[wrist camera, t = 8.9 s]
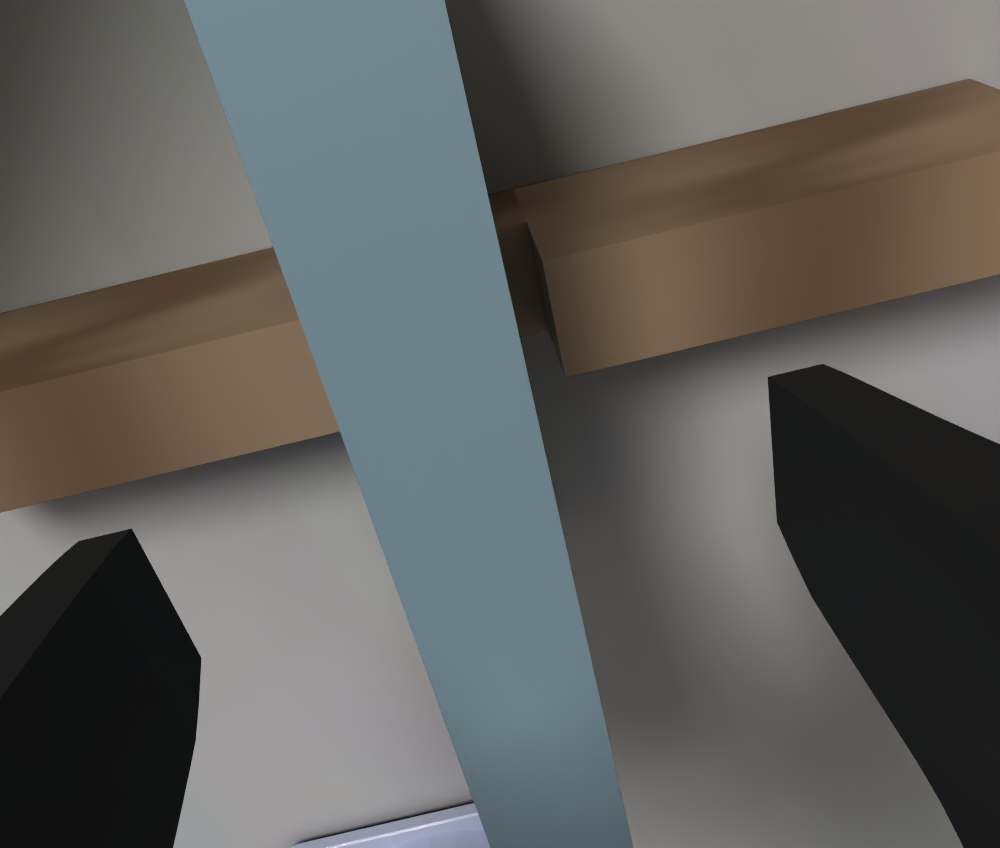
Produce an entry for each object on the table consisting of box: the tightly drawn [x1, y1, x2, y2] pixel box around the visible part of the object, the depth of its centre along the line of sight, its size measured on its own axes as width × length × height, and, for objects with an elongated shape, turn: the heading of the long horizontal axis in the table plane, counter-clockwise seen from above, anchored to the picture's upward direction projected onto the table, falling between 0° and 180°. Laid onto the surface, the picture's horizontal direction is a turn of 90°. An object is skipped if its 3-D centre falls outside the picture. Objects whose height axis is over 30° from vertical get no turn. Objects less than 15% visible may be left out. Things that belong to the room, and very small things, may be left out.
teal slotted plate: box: [184, 0, 633, 848], centre depth 14 cm, size 14×2×8 cm, turn 11°
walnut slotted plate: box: [0, 79, 1000, 513], centre depth 16 cm, size 20×2×4 cm, turn 101°
